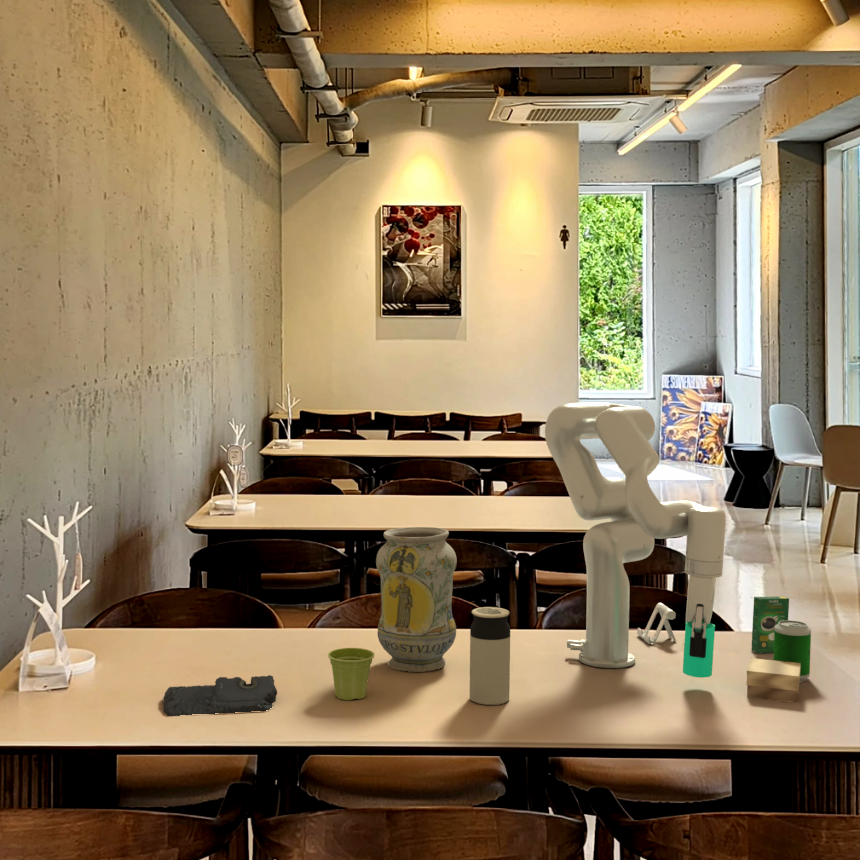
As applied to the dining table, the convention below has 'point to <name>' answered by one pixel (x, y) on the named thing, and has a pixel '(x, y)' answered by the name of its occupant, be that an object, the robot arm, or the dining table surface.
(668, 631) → the portable electronic device stand
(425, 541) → the vase
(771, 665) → the oak block
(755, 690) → the tan flat block
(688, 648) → the candle
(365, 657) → the plant pot
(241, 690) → the dark slate chunk
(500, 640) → the travel mug
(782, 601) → the coffee box
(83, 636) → the dining table surface
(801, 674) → the soda can
